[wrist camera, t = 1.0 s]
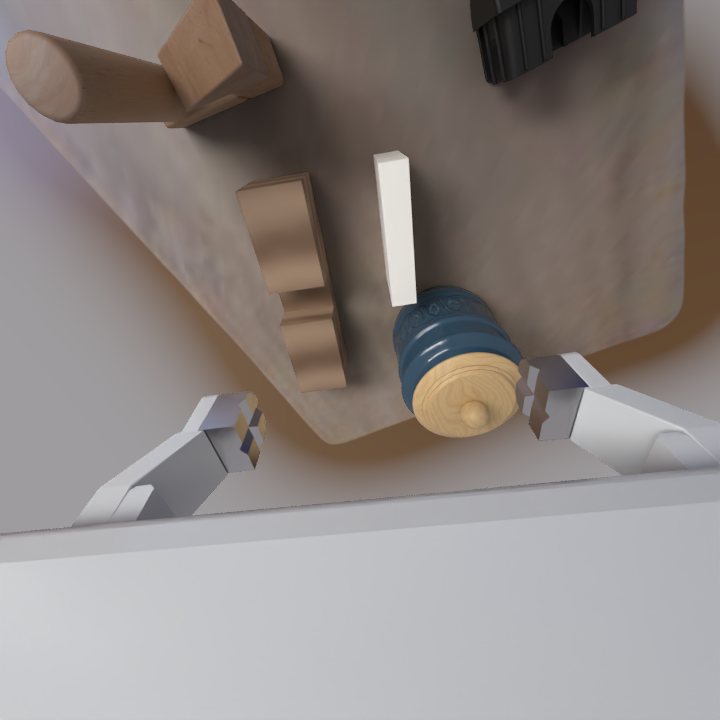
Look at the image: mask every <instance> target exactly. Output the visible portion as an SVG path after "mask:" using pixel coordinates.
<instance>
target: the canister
mask: <svg viewBox="0 0 720 720" xmlns="http://www.w3.org/2000/svg"><path fill="white" fill-rule="evenodd" d="M416 299H417V303H415V304H408V305H405V306H404V307H403V308H402V310H401V311H400V313H399V315H398V317H397V319H396V322H395V327H394V331H393V344H394V349H395V352H396V355H397V358H398V364H399V377H400V380H401V383H402V396H403V399H404V402H405V404H406V405H407V407H408V408H409V410H410V411H411V412H412V413H413V414H414V415H415V416H416V418H417V419H418V421H419V422H420V423H421V424H422V425H423V426H424V427H425V428H427V429H428V430H430V431H431V432H434V433H436V434H439V435H442V436H446V437H457V438H460V437H471V436H476V435H480V434H483V433H486V432H489V431H491V430H493V429H495V428H497V427H499V426H501V425H502V424H504V423H505V422H506V421H508V420H509V419H510V418H511V417H512V416H513V415H514V414H515V413H516V412H517V410H518V409H519V406H518V403H517V401H516V393H515V390H516V383H517V382H518V380H519V379H520V378H521V377H522V376H521V375H520V373H519V372H518V367H519V363H520V361H521V359H523V357H522V355H521V354H520V352H519V350H518V349H517V348H516V347H515V346H514V345H513V344H512V343H511V341H510V339H509V337H508V335H507V334H506V332H505V331H504V330H503V329H502V328H501V327H500V326H499V325H498V324H497V322H496V321H495V319H494V318H493V315H492V313H491V311H490V309H489V308H488V307H487V305H486V304H485V303H484V302H483V301H482V300H481V299H480V298H479V297H478V296H476V295H475V294H473V293H471V292H470V291H467V290H465V289H463V288H459V287H453V286H442V287H436V288H432V289H428V290H426V291H424V292H422V293H420V294H418V295H416Z"/></svg>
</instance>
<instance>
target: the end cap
mask: <svg viewBox="0 0 720 720" xmlns="http://www.w3.org/2000/svg"><path fill="white" fill-rule="evenodd" d="M470 7H471V19H472V26H473V32H474V31H476V30H477V37H478V42H479V47H480V53H481V58H482V63H483V69H484V74H485V79H486V81H487V82H488V83H493V84H497V83H499V82H501V81H503V82H505V81H509V80H512V79H514V78H516V77H518V76H520V75H522V74H524V73H526V72H528V71H529V70H531V69H533V68H535V67H537V66H539V65H541V64H543V63H544V62H546V61H548V60H550V59H552V58H553V51H554V50H556V49H558V48H559V47H561V46H562V47H563V46H565V45H567V44H569V43H571V42H573V41H575V40H577V39H578V38H580V37H582V36H584V35H586V34H588V33H590V32H591V37H592V36H595V35H597V34H599V33H601V32H603V31H605V30H606V29H608V28H610V27H612V26H614V25H616V24H618V23H620V22H621V21H623V20H625V19H627V18H629V17H631V16H633V15H634V14H636V13H637V0H470Z"/></svg>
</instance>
